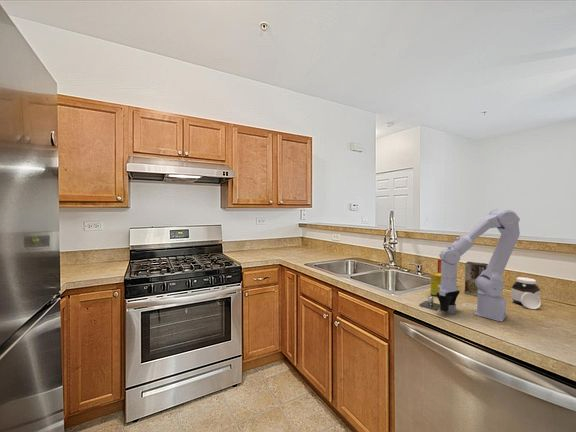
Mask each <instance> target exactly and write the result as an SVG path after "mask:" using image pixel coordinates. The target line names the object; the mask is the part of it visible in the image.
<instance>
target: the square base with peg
mask: <svg viewBox="0 0 576 432" xmlns="http://www.w3.org/2000/svg"><path fill="white" fill-rule="evenodd" d="M434 297H435V296H431V295H428V296H427V300H424V301H422V302H421V303H419V305H418V306H419V307H421V308H425V309H428V310H432V311H438V310H440V303H436V302H434Z"/></svg>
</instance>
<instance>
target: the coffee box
mask: <svg viewBox="0 0 576 432" xmlns="http://www.w3.org/2000/svg"><path fill="white" fill-rule="evenodd" d="M488 264H489V263H485V262H477V261H476V262H475V261H466V262H465V264H464V265H465V267H464V275H465V276H464V295H465V294H466V295H470V296H475V297H477V296H478V288H477V287H476V285H475V280H476V278H477V277H479V276H480V275H481V272H482V271H484V270H486V269H487V266H488Z"/></svg>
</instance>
